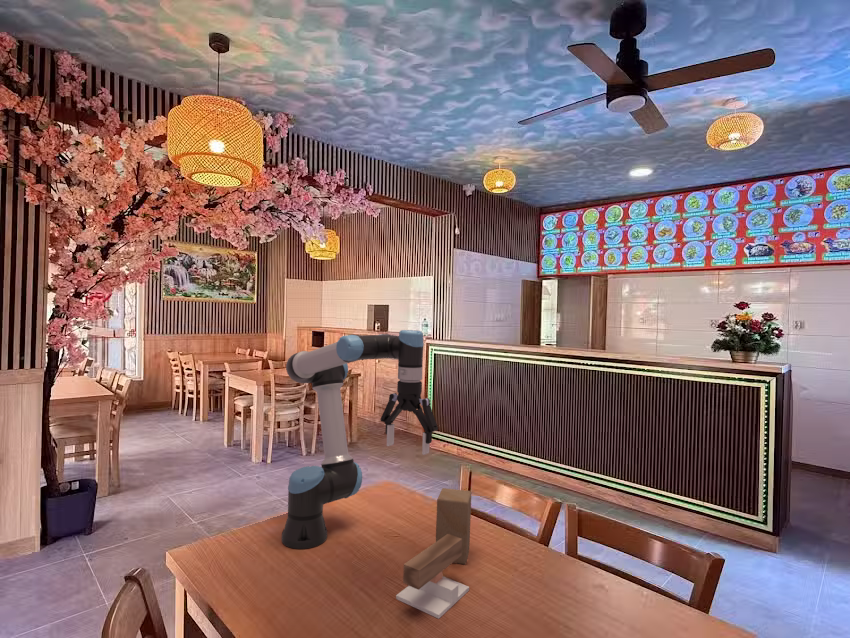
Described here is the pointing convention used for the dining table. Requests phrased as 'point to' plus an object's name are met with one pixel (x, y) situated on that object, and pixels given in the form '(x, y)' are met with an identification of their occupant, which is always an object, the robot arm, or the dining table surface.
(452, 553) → the beam
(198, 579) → the dining table surface
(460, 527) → the wooden block
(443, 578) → the stand
